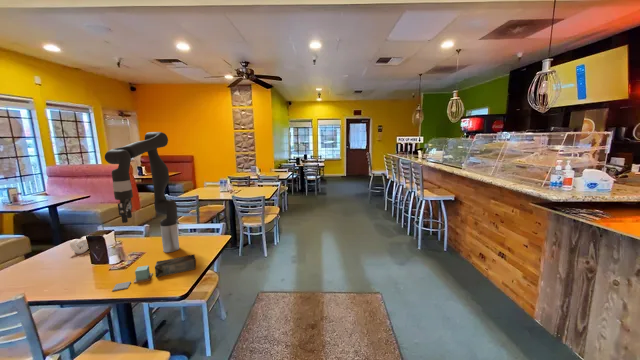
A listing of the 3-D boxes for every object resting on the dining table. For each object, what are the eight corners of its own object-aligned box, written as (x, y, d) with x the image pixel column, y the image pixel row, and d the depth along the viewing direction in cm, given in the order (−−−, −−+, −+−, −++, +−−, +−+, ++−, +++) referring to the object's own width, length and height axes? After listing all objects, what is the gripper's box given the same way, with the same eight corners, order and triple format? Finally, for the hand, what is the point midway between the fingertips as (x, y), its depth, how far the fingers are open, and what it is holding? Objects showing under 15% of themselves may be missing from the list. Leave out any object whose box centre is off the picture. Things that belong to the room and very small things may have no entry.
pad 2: (137, 276, 141) (137, 275, 141) (152, 274, 143) (152, 273, 143) (133, 283, 134) (133, 282, 134) (149, 280, 137) (149, 279, 137)
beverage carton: (157, 271, 147) (156, 259, 146) (196, 263, 155) (195, 253, 154) (155, 277, 140) (154, 265, 139) (196, 269, 148) (195, 258, 147)
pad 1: (116, 285, 133) (116, 283, 133) (130, 282, 135) (130, 281, 135) (112, 291, 128) (112, 290, 128) (127, 288, 130) (127, 287, 130)
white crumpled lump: (80, 256, 168) (78, 242, 167) (64, 255, 170) (62, 241, 169) (98, 248, 179) (96, 235, 178) (83, 248, 181) (80, 235, 180)
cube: (138, 276, 140) (137, 267, 140) (149, 274, 142) (148, 265, 141) (136, 280, 136) (135, 271, 135) (147, 278, 138) (146, 269, 137)
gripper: (118, 187, 141) (122, 217, 144) (109, 192, 129) (114, 225, 131) (134, 186, 144) (139, 215, 147) (127, 191, 131) (132, 223, 134)
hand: (127, 220), depth 139 cm, fingers open, 8 cm apart
